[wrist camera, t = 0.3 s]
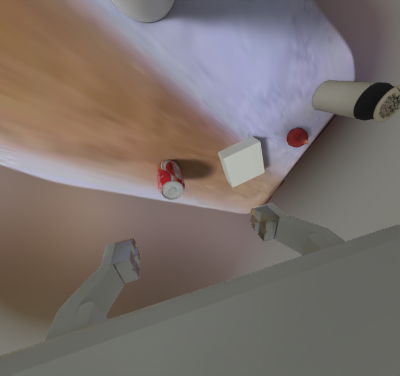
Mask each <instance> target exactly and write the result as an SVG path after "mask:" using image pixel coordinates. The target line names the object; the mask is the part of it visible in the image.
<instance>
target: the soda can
mask: <svg viewBox="0 0 400 376" xmlns="http://www.w3.org/2000/svg"><path fill="white" fill-rule="evenodd" d="M157 179H158V188H159V191H160V193H161V194H162V195H163V196H164V197H165V198H167V199H170V200H173V199H177V198H179V197H180V196H181V195H182V194H183V191H184V187H185V184H184V180H183V177H182V173H181V170H180V168H179V166H178V165H177V163H175V162H174V161H171V160H167V161H163V162H162V163H160V164H159V166H158V169H157Z"/></svg>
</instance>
